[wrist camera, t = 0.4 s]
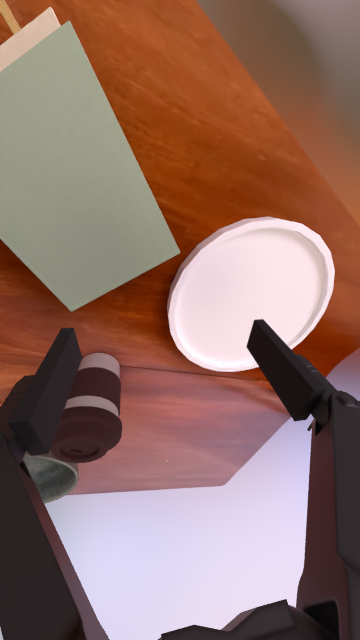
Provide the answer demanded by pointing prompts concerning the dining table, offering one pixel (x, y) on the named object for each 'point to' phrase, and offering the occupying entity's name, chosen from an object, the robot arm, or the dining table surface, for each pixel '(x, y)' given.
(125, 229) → the cabinet
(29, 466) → the bowl
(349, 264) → the dining table surface
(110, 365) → the coffee cup
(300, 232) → the plate
